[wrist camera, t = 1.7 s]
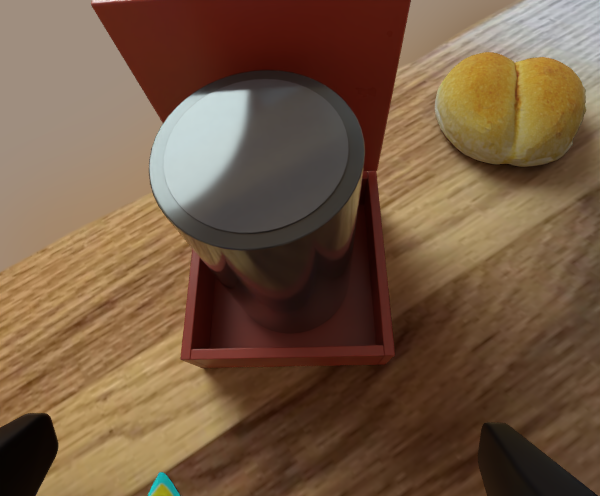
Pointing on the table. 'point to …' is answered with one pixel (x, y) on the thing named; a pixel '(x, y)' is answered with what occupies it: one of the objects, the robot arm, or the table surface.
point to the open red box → (307, 345)
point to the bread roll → (511, 109)
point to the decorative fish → (163, 487)
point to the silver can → (266, 191)
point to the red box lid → (264, 48)
